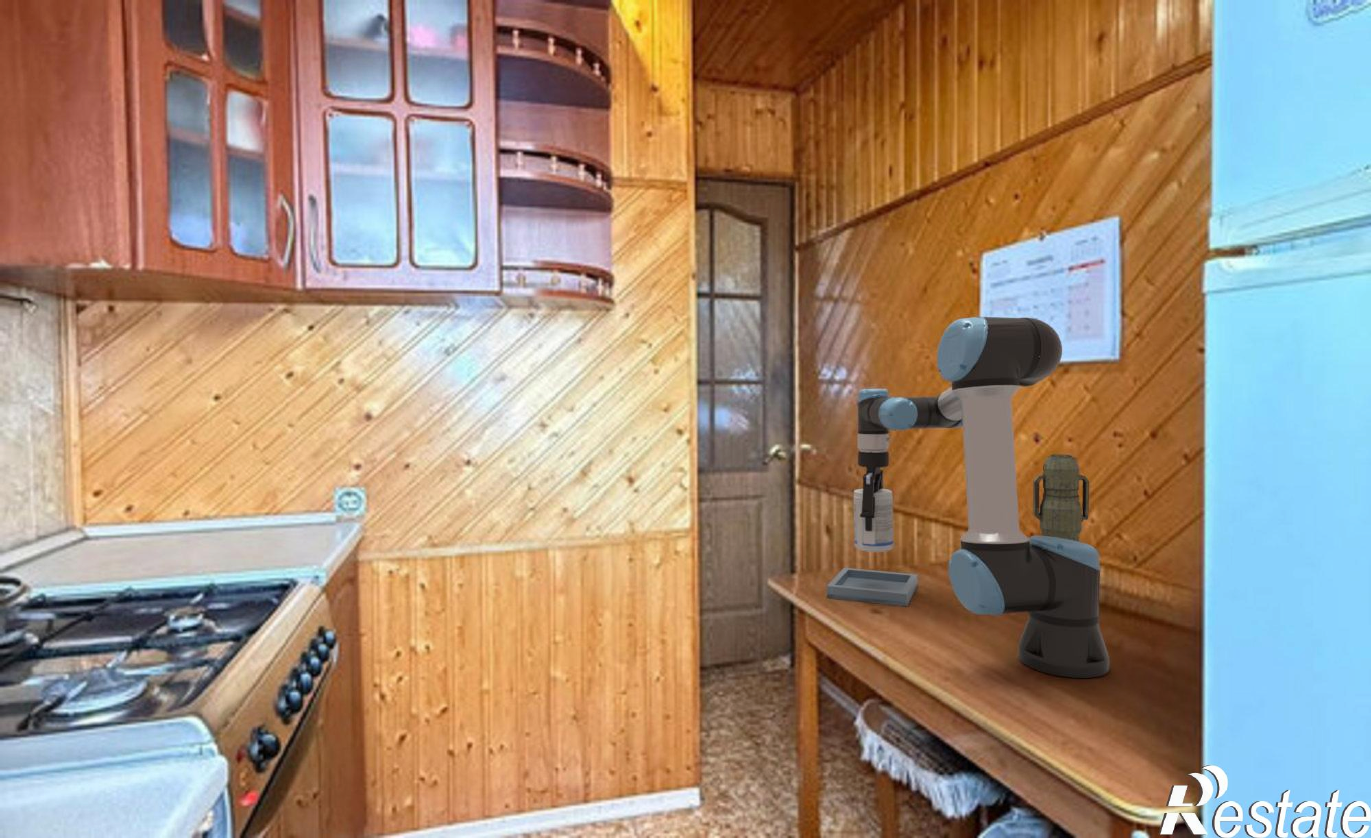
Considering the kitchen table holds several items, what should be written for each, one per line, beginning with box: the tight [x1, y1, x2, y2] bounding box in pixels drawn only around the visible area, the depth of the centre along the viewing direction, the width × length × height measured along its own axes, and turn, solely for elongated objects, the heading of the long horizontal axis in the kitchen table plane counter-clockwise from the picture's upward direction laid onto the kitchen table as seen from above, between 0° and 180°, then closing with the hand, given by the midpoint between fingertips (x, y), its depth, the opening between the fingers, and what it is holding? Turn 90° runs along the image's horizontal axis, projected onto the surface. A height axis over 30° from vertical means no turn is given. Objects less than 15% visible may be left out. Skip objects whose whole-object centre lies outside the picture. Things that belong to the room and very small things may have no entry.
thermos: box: [1032, 454, 1090, 542], centre depth 174 cm, size 9×12×35 cm
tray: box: [826, 567, 919, 607], centre depth 186 cm, size 19×19×3 cm
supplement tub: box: [853, 488, 894, 553], centre depth 185 cm, size 10×10×15 cm
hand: (873, 539), depth 185 cm, fingers closed on supplement tub, 9 cm apart
